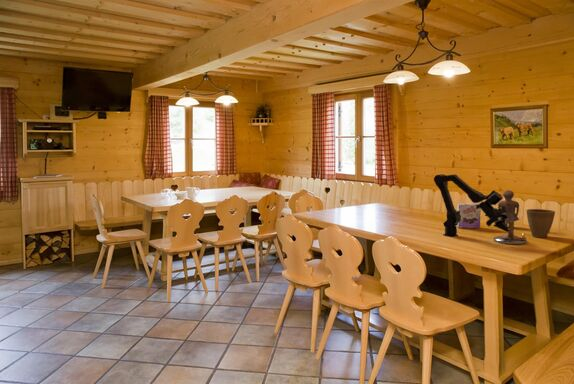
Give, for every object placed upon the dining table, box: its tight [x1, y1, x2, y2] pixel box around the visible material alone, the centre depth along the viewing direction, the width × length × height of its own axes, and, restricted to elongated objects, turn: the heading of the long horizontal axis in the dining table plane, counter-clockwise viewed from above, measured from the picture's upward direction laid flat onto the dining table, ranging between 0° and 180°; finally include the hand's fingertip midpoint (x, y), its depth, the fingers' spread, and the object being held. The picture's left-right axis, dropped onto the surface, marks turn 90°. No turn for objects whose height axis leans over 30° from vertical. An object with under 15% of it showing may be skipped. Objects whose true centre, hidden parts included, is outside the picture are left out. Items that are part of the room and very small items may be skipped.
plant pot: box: [526, 208, 556, 239], centre depth 256 cm, size 15×15×16 cm
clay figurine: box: [497, 189, 520, 227], centre depth 285 cm, size 13×10×25 cm
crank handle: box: [500, 221, 527, 241], centre depth 243 cm, size 12×13×11 cm
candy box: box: [456, 202, 481, 230], centre depth 287 cm, size 14×6×16 cm, turn 81°
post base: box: [493, 233, 528, 246], centre depth 246 cm, size 17×17×5 cm
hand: (508, 231), depth 239 cm, fingers closed, pressing on crank handle
